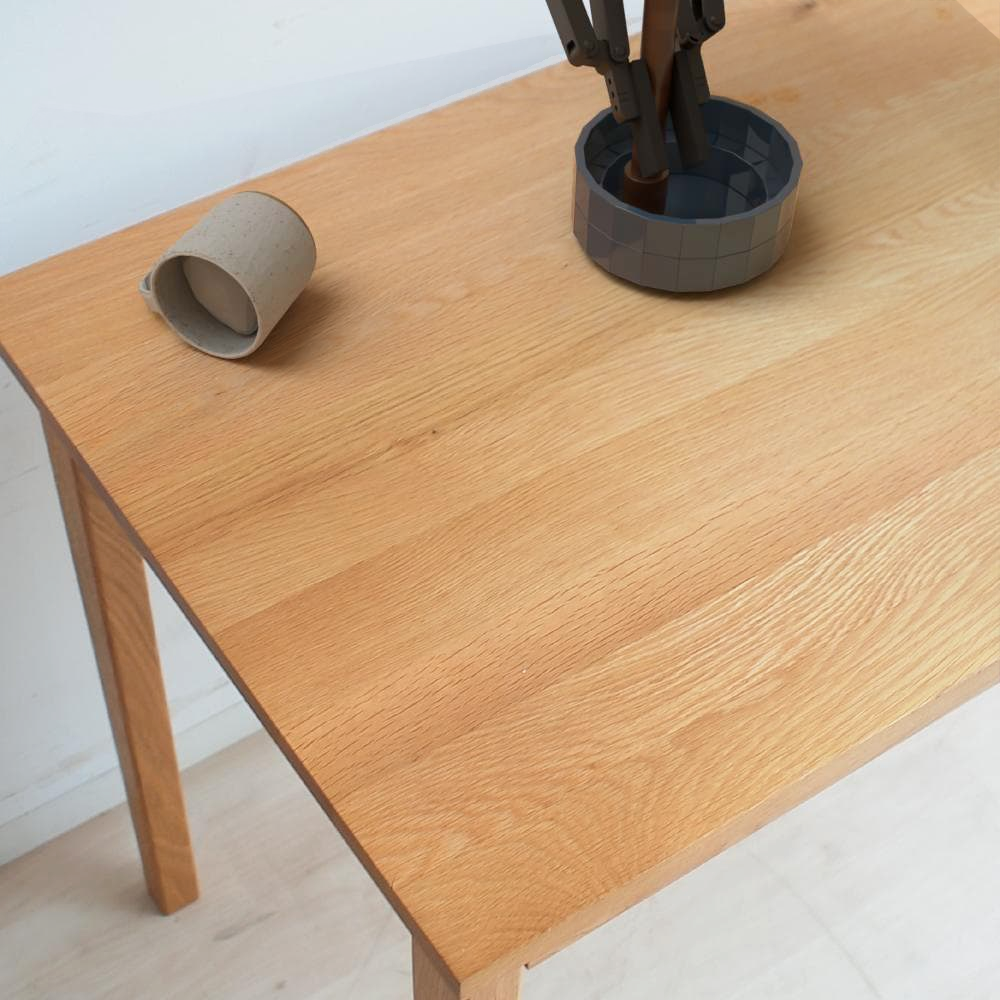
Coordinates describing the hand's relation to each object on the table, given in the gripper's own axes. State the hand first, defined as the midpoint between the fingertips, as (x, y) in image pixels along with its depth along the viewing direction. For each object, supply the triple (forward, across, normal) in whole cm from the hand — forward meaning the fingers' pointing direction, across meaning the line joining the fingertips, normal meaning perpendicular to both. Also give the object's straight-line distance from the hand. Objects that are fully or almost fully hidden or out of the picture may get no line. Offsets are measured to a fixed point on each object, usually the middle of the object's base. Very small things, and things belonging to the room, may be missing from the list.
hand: (676, 168), depth 86 cm
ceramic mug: (+2, +27, -10) cm, 29 cm away
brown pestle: (+1, 0, -7) cm, 7 cm away
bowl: (+3, -3, -8) cm, 9 cm away
